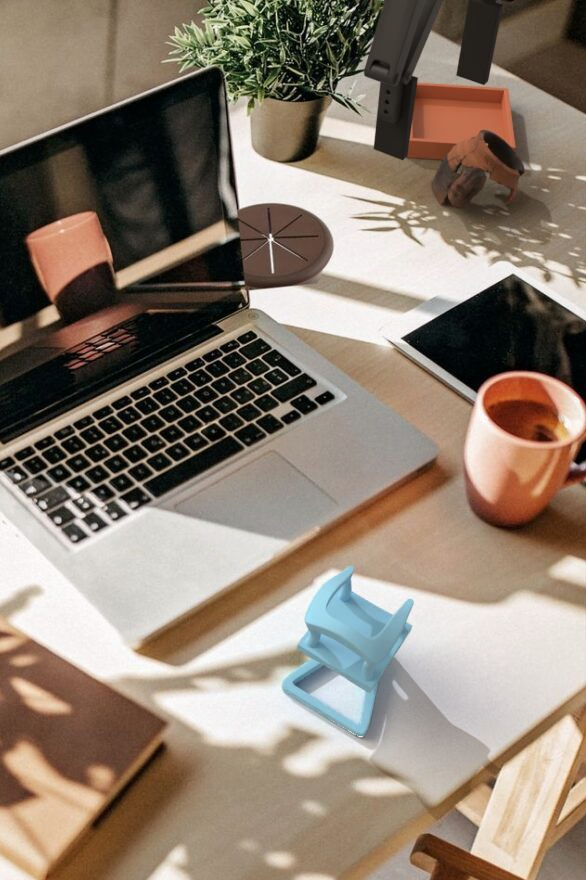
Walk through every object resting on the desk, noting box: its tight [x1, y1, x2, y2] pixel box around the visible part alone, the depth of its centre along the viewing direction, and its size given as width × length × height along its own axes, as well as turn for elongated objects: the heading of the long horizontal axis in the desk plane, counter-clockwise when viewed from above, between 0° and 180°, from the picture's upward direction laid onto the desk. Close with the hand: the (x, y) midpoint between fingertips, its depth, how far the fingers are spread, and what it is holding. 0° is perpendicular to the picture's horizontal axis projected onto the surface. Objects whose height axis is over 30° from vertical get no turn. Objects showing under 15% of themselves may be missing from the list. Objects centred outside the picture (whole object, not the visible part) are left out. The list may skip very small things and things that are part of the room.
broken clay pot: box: [430, 130, 526, 209], centre depth 115 cm, size 12×10×8 cm
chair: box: [281, 565, 415, 737], centre depth 75 cm, size 8×8×12 cm
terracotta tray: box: [406, 81, 516, 161], centre depth 125 cm, size 13×13×2 cm
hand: (432, 114), depth 81 cm, fingers open, 13 cm apart
